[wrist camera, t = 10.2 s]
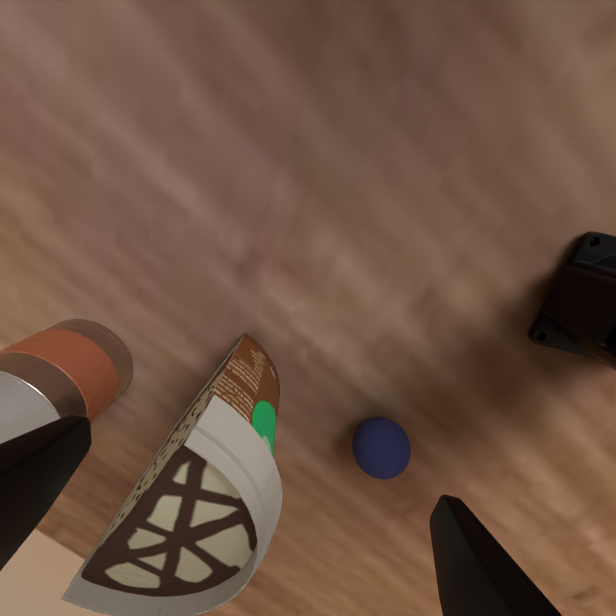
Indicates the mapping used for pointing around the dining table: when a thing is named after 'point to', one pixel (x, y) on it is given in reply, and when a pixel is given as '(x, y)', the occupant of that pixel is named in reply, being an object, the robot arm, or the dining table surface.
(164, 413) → the dining table surface
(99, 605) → the food container
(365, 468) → the blue ball
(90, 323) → the tin can
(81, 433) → the robot arm
